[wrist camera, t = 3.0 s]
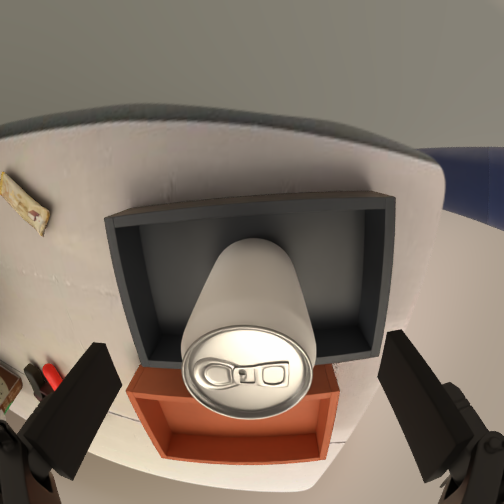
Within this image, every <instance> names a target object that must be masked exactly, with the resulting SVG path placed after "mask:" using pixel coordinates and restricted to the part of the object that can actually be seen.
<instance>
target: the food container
mask: <svg viewBox="0 0 504 504" xmlns="http://www.w3.org/2000/svg"><path fill="white" fill-rule="evenodd" d="M22 386H23V385H22V380H21V378H20V377H19V376H17V375H15V374H14V373H12V372H11V371H9V370H8V369H6V368H5V367H3V366H2V365H0V420H4V421H6V417H5V413H6V412H7V410H8V409H9V407H10V405H11V404H12V402H13V401H14V399H15V398H16V396H17V395H18V393H19V392H20V390H21V389H22Z"/></svg>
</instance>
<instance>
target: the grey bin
mask: <svg viewBox="0 0 504 504" xmlns="http://www.w3.org/2000/svg"><path fill="white" fill-rule="evenodd" d="M395 204H396V198H395V197H394V196H390V195H386V194H382V193H378V192H374V191H334V192H305V193H285V194H268V195H253V196H240V197H227V198H216V199H205V200H195V201H186V202H177V203H168V204H160V205H152V206H144V207H136V208H130V209H127V210H124V211H121V212H119V213H116V214H113V215H111V216H108V217H105V218H104V221H105V227H106V233H107V239H108V244H109V249H110V254H111V259H112V264H113V268H114V273H115V277H116V281H117V285H118V289H119V293H120V297H121V301H122V304H123V308H124V311H125V315H126V318H127V322H128V325H129V328H130V332H131V335H132V338H133V341H134V344H135V347H136V350H137V353H138V356H139V359H140V362H141V364H142V367H152V368H167V369H181V366H182V355H181V342H182V337H183V333H184V330H185V328H186V325H187V323H188V320H189V318H190V316H191V314H192V311H193V309H194V307H195V305H196V302H197V300H198V298H199V296H200V294H201V292H202V289H203V287H204V285H205V283H206V281H207V279H208V277H209V275H210V272H211V270H212V268H213V266H214V264H215V262H216V260H217V259H218V257H219V256H220V254H221V253H222V252H223V251H224V250H225V249H226V248H227V247H228V246H230V245H231V244H233V243H235V242H237V241H239V240H243V239H248V238H259V239H265V240H268V241H271V242H273V243H275V244H276V245H278V246H279V247H281V248H282V249H283V250H284V251H285V252H286V253H287V255H288V256H289V258H290V259H291V261H292V263H293V266H294V269H295V272H296V275H297V278H298V281H299V284H300V288H301V291H302V294H303V297H304V301H305V304H306V308H307V311H308V315H309V318H310V322H311V325H312V329H313V333H314V337H315V342H316V360H315V364H314V365H322V364H331V363H339V362H346V361H353V360H360V359H366V358H372V357H378V356H379V353H380V348H381V343H382V338H383V333H384V327H385V321H386V314H387V308H388V301H389V293H390V284H391V275H392V265H393V252H394V236H395Z"/></svg>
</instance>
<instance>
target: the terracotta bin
mask: <svg viewBox="0 0 504 504" xmlns="http://www.w3.org/2000/svg"><path fill="white" fill-rule="evenodd" d="M126 393H127V395H128V397H129V399H130V402H131V404H132V406H133V408H134V410H135V412H136V413H137V415H138V417H139V419H140V421H141V423H142V425H143V427H144V429H145V430H146V432H147V434H148V436H149V437H150V439H151V441H152V443H153V444H154V446H155V448H156V449H157V451H158V453H159V454H160V456H161V458H165V459H172V460H179V461H187V462H197V463H209V464H228V465H269V464H288V463H300V462H310V461H318V460H325V459H326V456H327V452H328V448H329V443H330V439H331V434H332V430H333V425H334V420H335V415H336V410H337V405H338V399H339V393H340V390H339V386H338V383H337V380H336V377H335V373H334V370H333V367H332V364H322V365H314V367H313V379H312V383H311V386H310V389H309V391H308V392H307V394H306V395H305V397H304V398H303V399H302V400H301V401H300V402H299V403H298V404H297V405H295V406H294V407H293V408H291V409H289V410H288V411H286V412H284V413H281V414H279V415H276V416H273V417H269V418H264V419H255V420H245V419H236V418H231V417H227V416H223V415H220V414H218V413H215V412H213V411H211V410H209V409H208V408H206V407H204V406H203V405H202V404H200V403H199V402H198V401H197V400H196V399H195V398H194V397H193V396H192V395H191V394H190V393H189V391H188V390H187V388H186V386H185V384H184V381H183V378H182V373H181V369H167V368H152V367H142V365H139V367H138V369H137V371H136V373H135V375H134V376H133V378H132V380H131V382H130V384H129V385H128V387H127V389H126Z"/></svg>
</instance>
